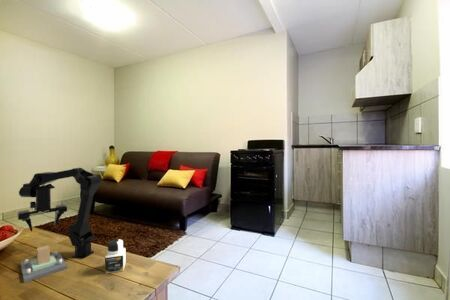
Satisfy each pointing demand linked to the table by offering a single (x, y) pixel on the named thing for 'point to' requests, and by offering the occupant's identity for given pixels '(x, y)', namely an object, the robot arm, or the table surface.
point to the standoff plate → (30, 274)
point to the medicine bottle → (115, 256)
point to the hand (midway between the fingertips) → (43, 228)
